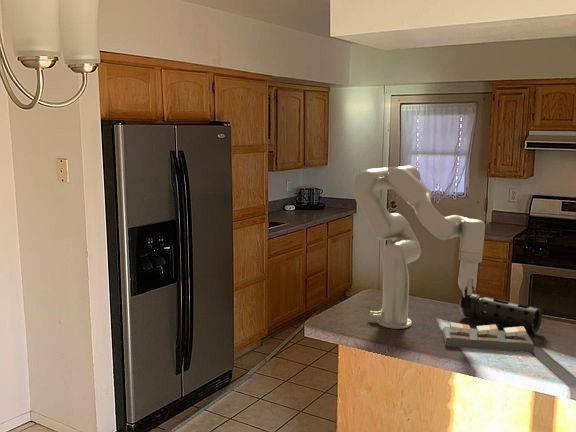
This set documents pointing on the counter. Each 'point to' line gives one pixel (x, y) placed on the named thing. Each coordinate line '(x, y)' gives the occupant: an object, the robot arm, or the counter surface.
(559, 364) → the counter surface
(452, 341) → the switch unit
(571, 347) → the counter surface
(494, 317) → the muzzle brake
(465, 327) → the switch left
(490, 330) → the switch middle
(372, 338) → the counter surface
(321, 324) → the counter surface
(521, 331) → the switch right
